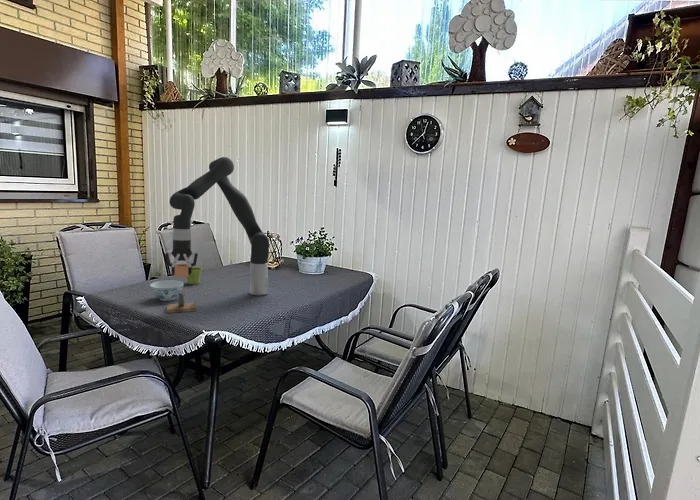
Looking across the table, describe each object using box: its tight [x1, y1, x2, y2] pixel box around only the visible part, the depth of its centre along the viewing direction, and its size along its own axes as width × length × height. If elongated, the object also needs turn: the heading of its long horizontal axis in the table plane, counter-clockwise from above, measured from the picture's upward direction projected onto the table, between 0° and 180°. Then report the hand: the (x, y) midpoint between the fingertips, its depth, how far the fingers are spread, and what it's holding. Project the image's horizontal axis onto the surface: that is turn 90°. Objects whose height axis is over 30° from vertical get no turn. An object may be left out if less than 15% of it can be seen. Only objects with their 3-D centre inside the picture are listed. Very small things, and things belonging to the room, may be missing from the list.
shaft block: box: [166, 292, 197, 314], centre depth 177 cm, size 12×8×8 cm, turn 112°
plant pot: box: [186, 266, 203, 285], centre depth 222 cm, size 9×9×9 cm
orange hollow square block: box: [174, 263, 189, 278], centre depth 175 cm, size 6×6×5 cm
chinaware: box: [149, 279, 184, 302], centre depth 191 cm, size 15×15×8 cm
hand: (181, 274), depth 176 cm, fingers closed on orange hollow square block, 5 cm apart
